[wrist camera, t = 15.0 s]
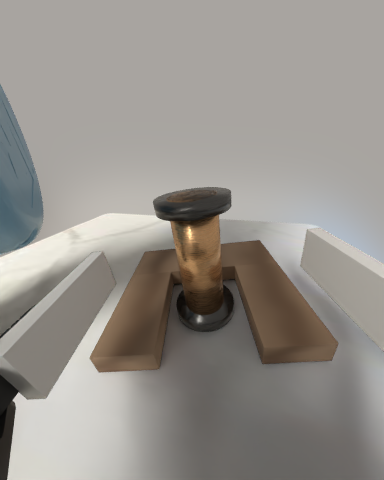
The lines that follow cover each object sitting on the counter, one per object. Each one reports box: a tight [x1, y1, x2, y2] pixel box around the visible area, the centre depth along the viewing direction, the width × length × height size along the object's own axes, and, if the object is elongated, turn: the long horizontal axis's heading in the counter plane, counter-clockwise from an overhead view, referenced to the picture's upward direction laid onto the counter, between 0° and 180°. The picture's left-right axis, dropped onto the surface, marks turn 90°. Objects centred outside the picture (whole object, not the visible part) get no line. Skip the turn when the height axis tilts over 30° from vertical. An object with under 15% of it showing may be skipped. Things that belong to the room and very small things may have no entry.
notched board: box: [90, 240, 338, 372], centre depth 20 cm, size 18×16×2 cm
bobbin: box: [153, 187, 234, 332], centre depth 16 cm, size 6×6×12 cm
